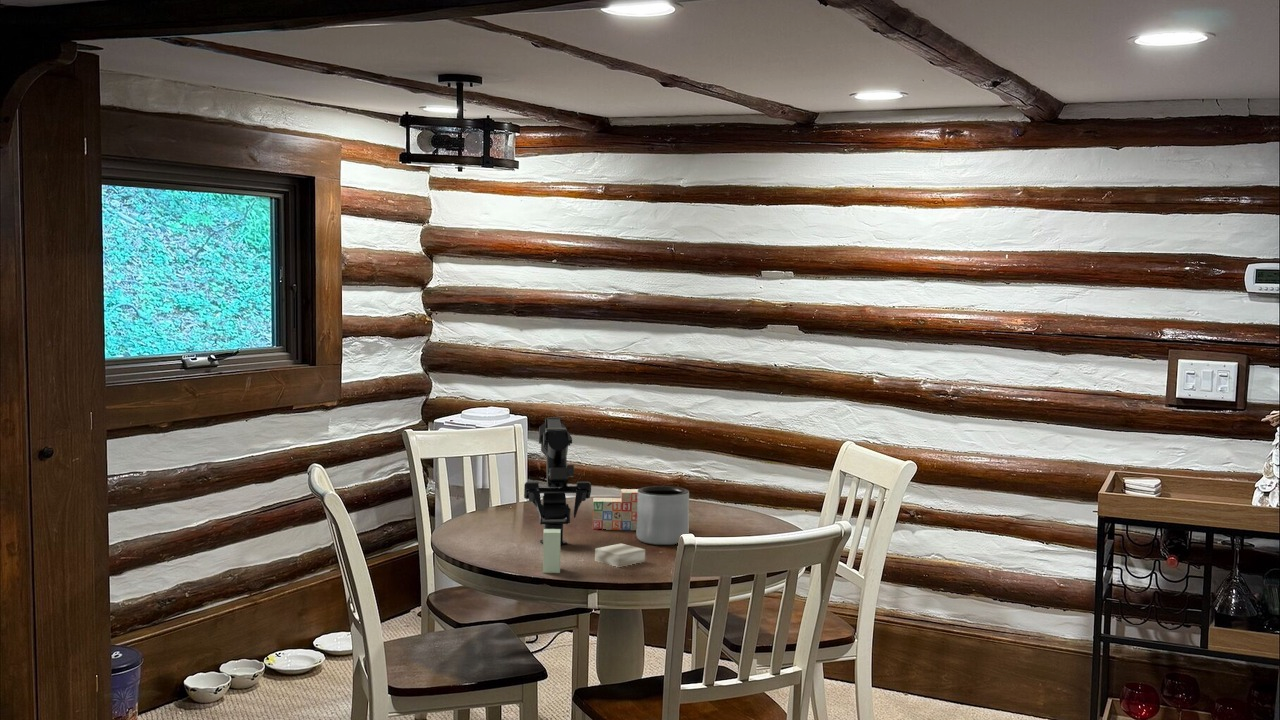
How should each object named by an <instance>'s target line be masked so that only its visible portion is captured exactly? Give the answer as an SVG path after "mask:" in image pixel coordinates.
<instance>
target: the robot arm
mask: <svg viewBox="0 0 1280 720" xmlns="http://www.w3.org/2000/svg"><path fill="white" fill-rule="evenodd" d="M562 420H563V419H562V418H561V417H559V416H558V417H549V416H548V417H546V418H545V420H544V423H542V424H541V425H540V426H539V427H538V429H539V430H538V444H540V451H541V453H542V454H543V455H544V456H545V458H546V459H545V460H546V461H545V464H546V486H545V485H543V486H539V481H526V482H524V487H523V488H524V489H523V493H524V494H523V498H524V499H525V500H528V501H529V502H532V503H533V505H534V506H535V508H536V510H537V512H538V515H539V524H540V525H543V530H544V529H561V537H560V546H561V545H567V544H568V542H567V541H565V540H564V525H569V524H570V523H571V508H570V506H569V503H567V497H566V494H575V497H574V498H575V500H574V507H573V519H575V518H576V517H577V514H578V510H579V507H580V506H581V504H582V502H586V500H587V499H590V498H591V493H592V483H591V482H590V481H576V485H570V486H569V485H568V484H569V478H573V477H574V476H575V465H574V464H568V460H567V459H568V458H567V455H568V451H569V447H570V446H571V444H573V437H572V436H571V433H570V432H568V429H567V427H566V425H565V424H563V421H562ZM541 494H543V496H542V500H541ZM539 542H540V543H542V544H543V539H540V540H539Z"/></svg>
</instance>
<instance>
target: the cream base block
mask: <svg viewBox="0 0 1280 720" xmlns="http://www.w3.org/2000/svg"><path fill="white" fill-rule="evenodd" d="M594 561H595V562H596V561H598V562H597V563H599V562H601V563H600V564H603V563H605V564H604V565H606V564H609V565H608V566H610V565H612V566H611V567H613V566H616V567H615V568H617V567H622V566H626V567H628V566H627V565H631V566H633V565H632V564H635V565H637V564H636V563H640V564H642V563H641V562H644V563H646V549H645V548H641V547H638V546H633V545H628V544H625V543H616V544H612V545H606V546H601V547H597V548H596V547H595V549H594ZM622 568H623V567H622Z"/></svg>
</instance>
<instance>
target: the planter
mask: <svg viewBox="0 0 1280 720" xmlns="http://www.w3.org/2000/svg"><path fill="white" fill-rule="evenodd" d="M637 489H638V497H637V530H635V531H636V534H635V535H636V539H637V540H639V541H640V542H641V543H644V544H647V545H648V544H649V545H653V546H654V545H655V546H674V545H675V544H676V545H678V544H677V543H678V540H679V537H680V535H681V534H686V533H689V534H690V532H689V531H690V525H689V523H690V517H689V516H690V515H689V513H690V491H689V490H688V489H686V488H684V487H679V486H671V485H670V486H669V485H653V486H645V487H640V488H637Z"/></svg>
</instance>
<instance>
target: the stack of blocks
mask: <svg viewBox="0 0 1280 720" xmlns="http://www.w3.org/2000/svg"><path fill="white" fill-rule="evenodd" d="M638 489H639V488H637V489H636V488H631V489H630V488H629V489H627V488H622V489H620V497H618V498H615V497H613V498H611V497H593V499H592V500H593V502H592V506H593V507H592V530H598V529H602V530H603V529H606V531H607V530H608V531H611V530H612V531H636V530H637V497H638Z"/></svg>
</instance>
